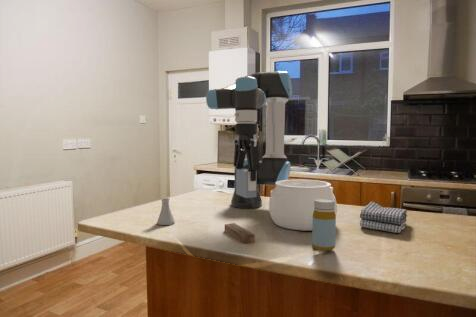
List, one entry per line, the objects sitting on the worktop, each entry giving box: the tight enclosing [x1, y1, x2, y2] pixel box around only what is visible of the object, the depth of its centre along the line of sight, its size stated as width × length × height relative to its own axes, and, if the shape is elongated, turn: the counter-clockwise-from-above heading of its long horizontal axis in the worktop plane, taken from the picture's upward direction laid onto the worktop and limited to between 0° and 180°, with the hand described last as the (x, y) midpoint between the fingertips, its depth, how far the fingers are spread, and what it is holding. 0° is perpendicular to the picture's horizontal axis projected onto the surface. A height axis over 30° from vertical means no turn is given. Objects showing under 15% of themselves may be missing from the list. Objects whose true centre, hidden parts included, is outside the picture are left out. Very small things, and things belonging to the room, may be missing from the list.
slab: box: [236, 169, 257, 198], centre depth 116 cm, size 4×8×9 cm, turn 25°
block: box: [224, 222, 256, 244], centre depth 116 cm, size 4×16×2 cm, turn 26°
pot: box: [268, 178, 338, 232], centre depth 133 cm, size 29×26×16 cm
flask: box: [156, 197, 176, 226], centre depth 133 cm, size 7×7×10 cm
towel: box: [359, 201, 408, 234], centre depth 130 cm, size 15×18×8 cm
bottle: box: [311, 199, 337, 252], centre depth 104 cm, size 7×7×15 cm
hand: (245, 188), depth 117 cm, fingers closed on slab, 8 cm apart
